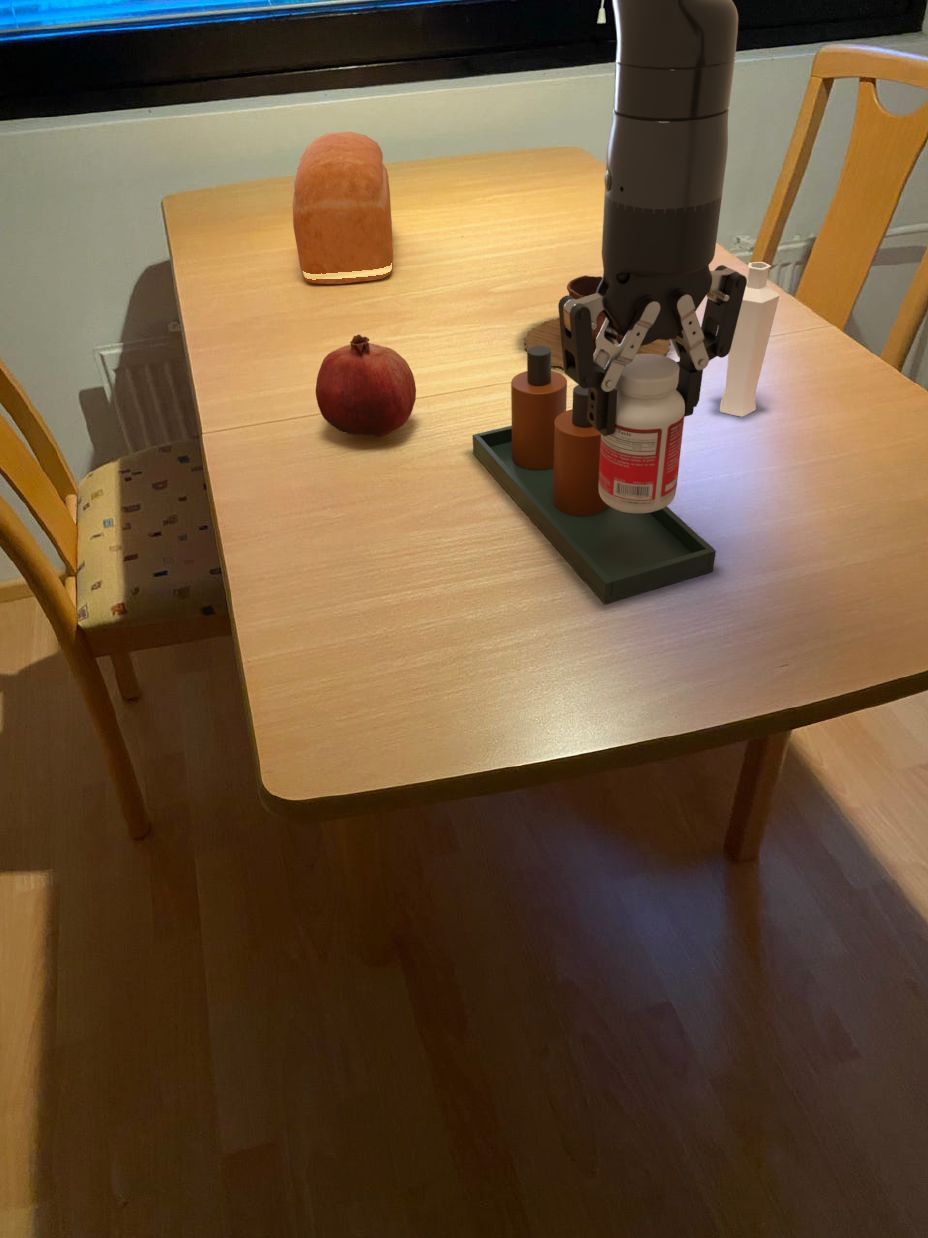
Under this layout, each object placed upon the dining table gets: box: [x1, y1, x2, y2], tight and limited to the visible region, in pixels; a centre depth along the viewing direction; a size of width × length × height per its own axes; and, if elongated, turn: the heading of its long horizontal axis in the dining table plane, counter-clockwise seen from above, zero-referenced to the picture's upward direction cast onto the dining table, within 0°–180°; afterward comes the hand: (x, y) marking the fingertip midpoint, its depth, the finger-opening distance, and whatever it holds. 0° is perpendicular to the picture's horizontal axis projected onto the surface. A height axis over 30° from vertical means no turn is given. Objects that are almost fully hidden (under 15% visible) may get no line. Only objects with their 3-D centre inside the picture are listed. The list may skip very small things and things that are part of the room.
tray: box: [472, 425, 717, 605], centre depth 85 cm, size 10×27×2 cm, turn 22°
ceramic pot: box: [522, 275, 672, 369], centre depth 111 cm, size 18×18×7 cm
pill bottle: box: [599, 354, 685, 513], centre depth 71 cm, size 6×6×11 cm
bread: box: [292, 131, 394, 285], centre depth 138 cm, size 14×26×16 cm, turn 4°
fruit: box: [315, 334, 417, 438], centre depth 95 cm, size 11×10×10 cm
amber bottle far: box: [510, 346, 568, 470], centre depth 88 cm, size 5×5×11 cm
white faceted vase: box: [719, 261, 781, 418], centre depth 94 cm, size 5×4×15 cm
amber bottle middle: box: [553, 384, 609, 516], centre depth 82 cm, size 5×5×11 cm
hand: (642, 420), depth 71 cm, fingers closed on pill bottle, 6 cm apart
